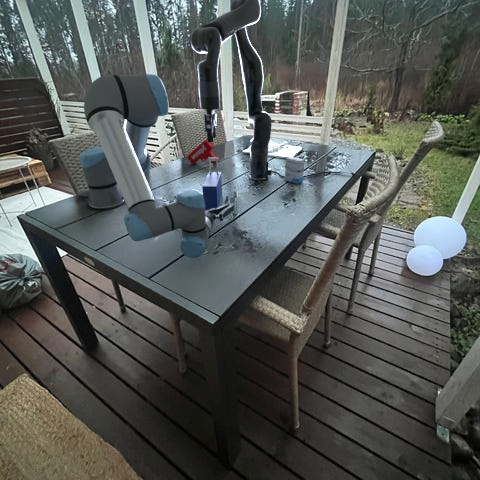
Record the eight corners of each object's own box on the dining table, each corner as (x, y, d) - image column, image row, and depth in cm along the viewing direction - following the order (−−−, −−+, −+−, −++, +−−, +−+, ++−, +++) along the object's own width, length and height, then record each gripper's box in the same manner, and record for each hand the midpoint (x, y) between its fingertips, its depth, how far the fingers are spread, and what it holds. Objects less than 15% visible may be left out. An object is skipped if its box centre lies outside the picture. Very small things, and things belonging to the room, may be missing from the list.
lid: (209, 174, 122) (207, 155, 117) (221, 174, 121) (220, 155, 117) (202, 188, 107) (200, 167, 103) (216, 189, 107) (215, 167, 103)
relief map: (291, 159, 177) (291, 151, 174) (243, 153, 190) (243, 145, 187) (302, 149, 197) (303, 142, 194) (258, 144, 211) (258, 137, 208)
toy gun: (224, 159, 165) (208, 138, 162) (221, 161, 162) (205, 139, 158) (204, 174, 175) (189, 154, 172) (201, 176, 172) (186, 156, 168)
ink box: (302, 181, 142) (305, 159, 136) (297, 184, 139) (300, 161, 133) (289, 177, 147) (291, 156, 141) (284, 180, 144) (285, 158, 138)
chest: (210, 197, 127) (208, 175, 121) (222, 197, 127) (221, 175, 121) (204, 212, 113) (202, 189, 107) (217, 213, 113) (216, 189, 107)
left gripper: (166, 232, 95) (181, 206, 113) (237, 234, 94) (241, 207, 111) (163, 213, 91) (179, 189, 109) (237, 215, 90) (241, 190, 107)
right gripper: (202, 93, 108) (205, 136, 116) (195, 96, 96) (199, 144, 104) (221, 93, 107) (223, 136, 116) (216, 96, 95) (219, 144, 104)
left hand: (210, 198), depth 110 cm, fingers open, 13 cm apart
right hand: (212, 139), depth 110 cm, fingers open, 8 cm apart
